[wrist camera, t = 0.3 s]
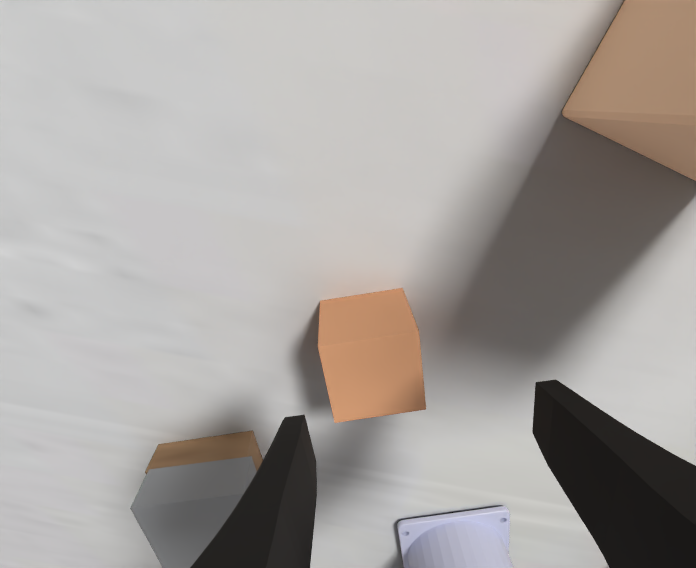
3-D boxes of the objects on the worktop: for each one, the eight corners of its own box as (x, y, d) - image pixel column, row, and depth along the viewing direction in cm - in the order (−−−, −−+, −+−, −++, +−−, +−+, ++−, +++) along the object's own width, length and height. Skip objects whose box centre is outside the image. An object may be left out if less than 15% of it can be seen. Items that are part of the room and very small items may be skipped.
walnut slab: (275, 489, 28) (270, 523, 25) (191, 502, 28) (179, 536, 26) (253, 426, 25) (246, 457, 23) (161, 439, 25) (145, 471, 23)
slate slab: (273, 523, 25) (268, 562, 23) (180, 534, 25) (167, 575, 23) (251, 456, 23) (243, 493, 21) (149, 469, 23) (130, 508, 21)
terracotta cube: (409, 355, 23) (426, 409, 19) (334, 366, 23) (334, 423, 19) (402, 287, 21) (418, 331, 17) (320, 300, 21) (317, 346, 17)
